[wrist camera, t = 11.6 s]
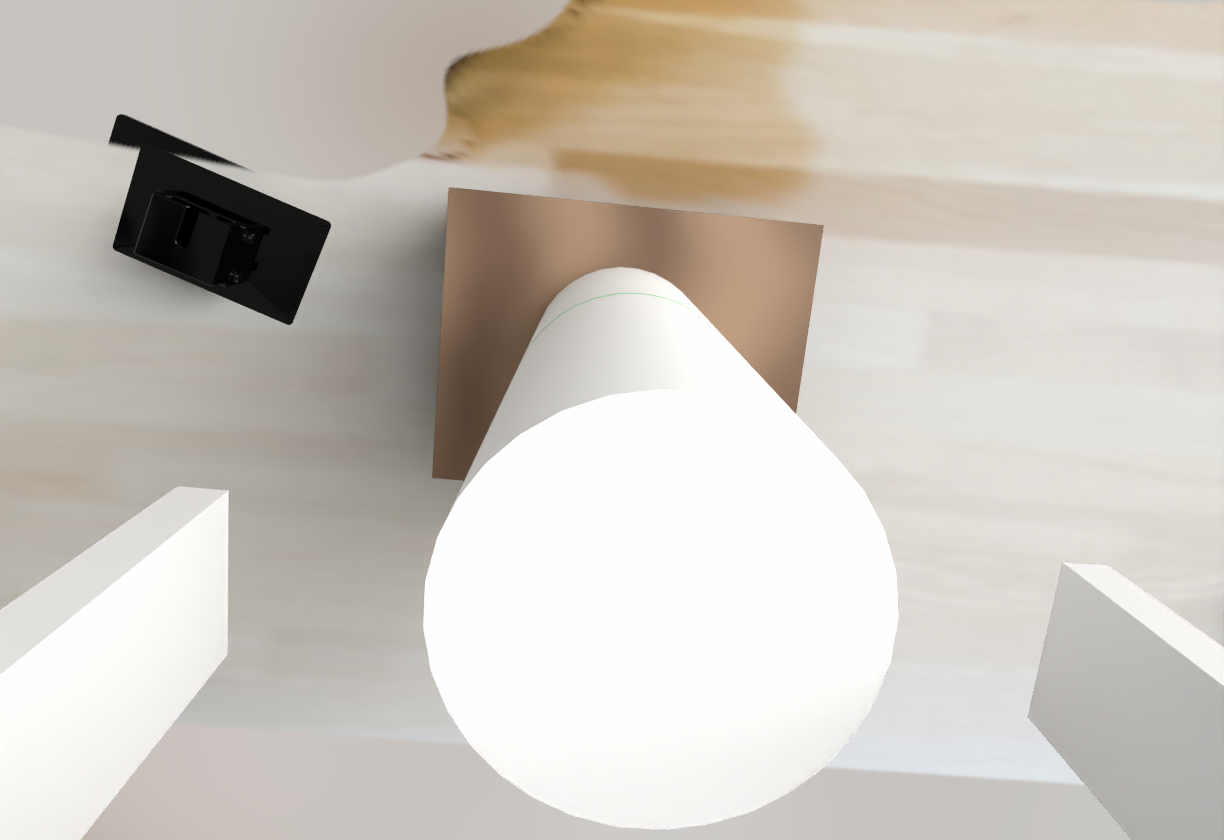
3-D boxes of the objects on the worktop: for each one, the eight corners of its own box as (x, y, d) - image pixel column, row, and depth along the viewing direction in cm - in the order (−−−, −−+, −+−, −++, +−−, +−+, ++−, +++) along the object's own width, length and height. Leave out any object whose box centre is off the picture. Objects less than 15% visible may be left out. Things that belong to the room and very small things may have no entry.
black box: (368, 221, 45) (342, 224, 41) (317, 356, 47) (287, 373, 42) (121, 112, 44) (67, 102, 40) (77, 254, 45) (20, 260, 41)
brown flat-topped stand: (459, 431, 47) (432, 477, 39) (474, 189, 44) (448, 187, 37) (751, 458, 48) (781, 509, 40) (784, 220, 45) (823, 225, 37)
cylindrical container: (622, 472, 39) (662, 908, 15) (498, 356, 38) (323, 629, 14) (743, 352, 38) (995, 615, 14) (619, 229, 37) (660, 283, 13)
